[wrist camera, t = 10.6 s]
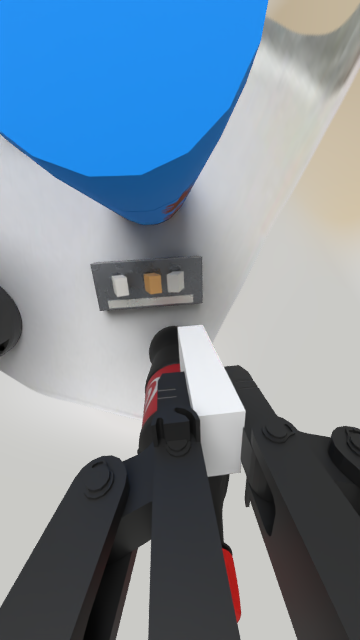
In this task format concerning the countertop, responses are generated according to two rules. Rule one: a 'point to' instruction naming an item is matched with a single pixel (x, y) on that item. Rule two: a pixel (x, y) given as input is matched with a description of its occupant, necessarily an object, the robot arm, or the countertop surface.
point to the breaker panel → (137, 286)
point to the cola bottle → (163, 361)
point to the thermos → (124, 92)
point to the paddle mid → (153, 283)
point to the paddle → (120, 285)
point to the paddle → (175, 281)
